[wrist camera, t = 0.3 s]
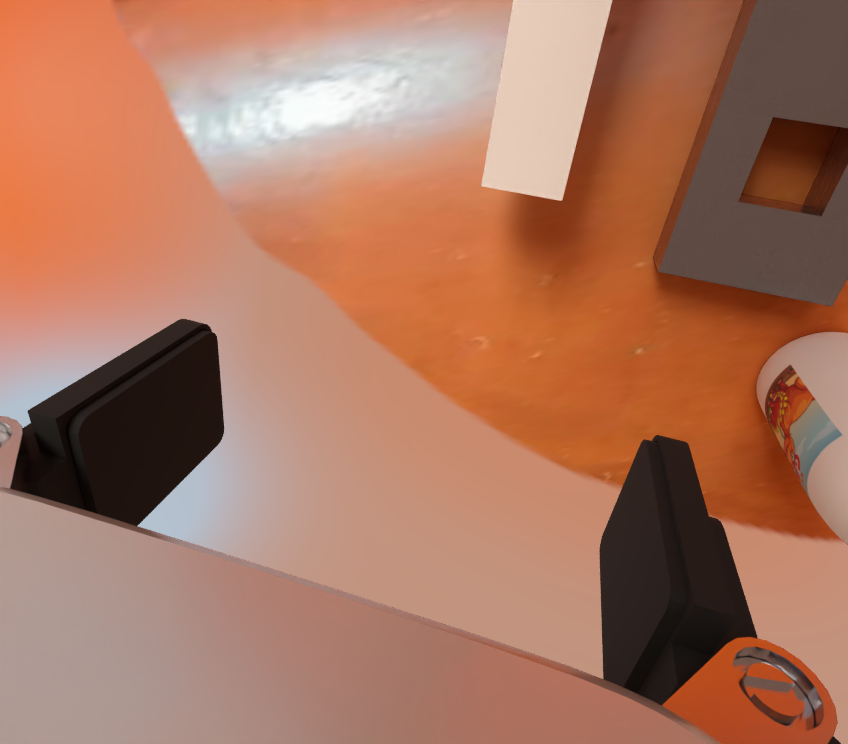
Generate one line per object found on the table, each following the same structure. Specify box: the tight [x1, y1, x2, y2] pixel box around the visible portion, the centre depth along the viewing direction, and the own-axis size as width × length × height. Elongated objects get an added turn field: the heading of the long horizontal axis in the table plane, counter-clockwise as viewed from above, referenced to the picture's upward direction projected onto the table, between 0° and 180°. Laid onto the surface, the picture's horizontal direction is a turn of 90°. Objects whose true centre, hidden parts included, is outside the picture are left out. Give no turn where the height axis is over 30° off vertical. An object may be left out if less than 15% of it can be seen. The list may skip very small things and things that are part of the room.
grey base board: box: [653, 0, 848, 306], centre depth 27 cm, size 26×10×3 cm, turn 173°
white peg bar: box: [481, 0, 612, 201], centre depth 28 cm, size 18×4×8 cm, turn 173°
